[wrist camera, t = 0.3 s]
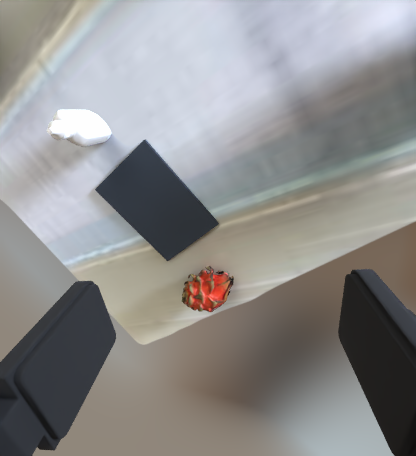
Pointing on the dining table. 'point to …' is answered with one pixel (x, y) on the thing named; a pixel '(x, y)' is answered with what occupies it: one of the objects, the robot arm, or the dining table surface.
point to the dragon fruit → (207, 290)
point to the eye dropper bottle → (79, 127)
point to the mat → (156, 202)
